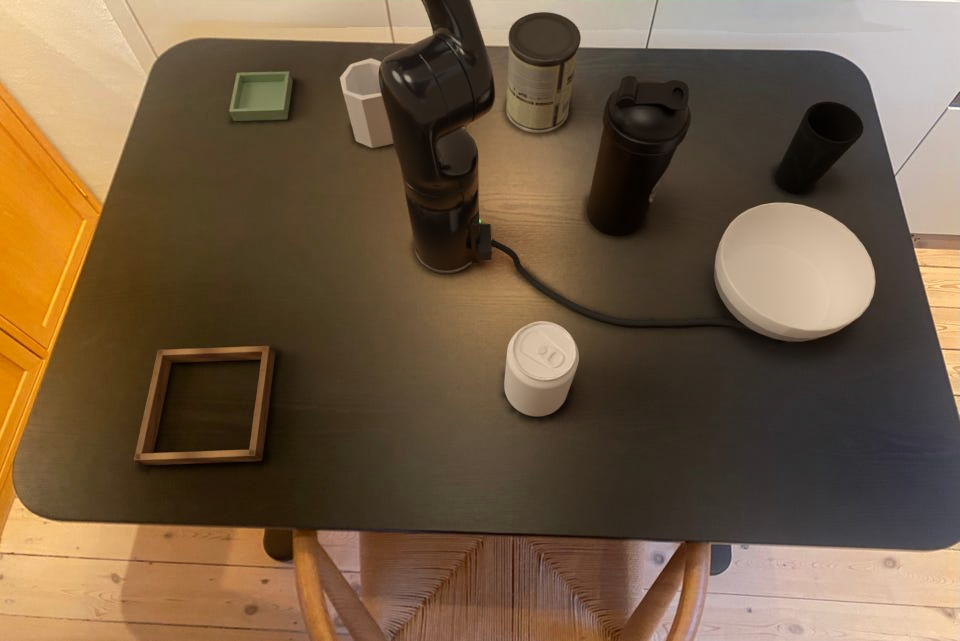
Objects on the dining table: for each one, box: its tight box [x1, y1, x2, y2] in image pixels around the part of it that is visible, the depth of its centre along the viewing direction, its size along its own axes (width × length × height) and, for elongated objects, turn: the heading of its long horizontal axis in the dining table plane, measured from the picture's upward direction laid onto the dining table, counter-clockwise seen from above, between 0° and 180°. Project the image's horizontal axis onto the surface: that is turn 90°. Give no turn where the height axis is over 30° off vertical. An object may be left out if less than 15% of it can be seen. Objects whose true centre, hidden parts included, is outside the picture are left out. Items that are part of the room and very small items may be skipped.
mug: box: [339, 57, 394, 149], centre depth 93 cm, size 12×9×10 cm
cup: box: [774, 101, 864, 195], centre depth 87 cm, size 8×8×12 cm
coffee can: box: [505, 11, 582, 134], centre depth 93 cm, size 10×10×14 cm
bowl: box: [713, 202, 876, 342], centre depth 79 cm, size 19×19×9 cm
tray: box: [228, 70, 294, 122], centre depth 99 cm, size 9×9×2 cm
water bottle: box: [586, 75, 692, 237], centre depth 79 cm, size 10×10×23 cm
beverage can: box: [503, 320, 580, 417], centre depth 72 cm, size 8×8×12 cm
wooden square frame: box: [133, 345, 276, 466], centre depth 75 cm, size 14×14×3 cm
